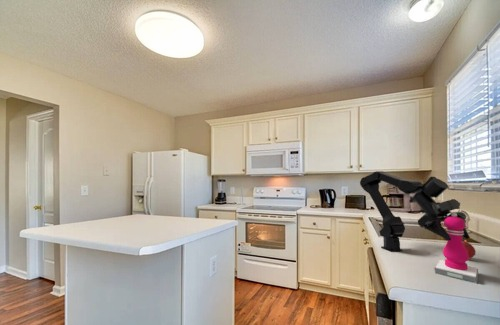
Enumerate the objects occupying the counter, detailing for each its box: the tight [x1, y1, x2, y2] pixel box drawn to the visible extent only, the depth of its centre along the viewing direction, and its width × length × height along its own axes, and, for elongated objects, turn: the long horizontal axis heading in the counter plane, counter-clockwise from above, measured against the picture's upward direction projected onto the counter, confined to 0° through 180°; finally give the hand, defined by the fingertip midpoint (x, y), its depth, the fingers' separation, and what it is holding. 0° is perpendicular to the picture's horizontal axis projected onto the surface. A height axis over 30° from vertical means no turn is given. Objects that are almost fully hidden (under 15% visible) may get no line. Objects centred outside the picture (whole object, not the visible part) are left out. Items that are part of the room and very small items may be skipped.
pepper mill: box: [442, 211, 470, 270], centre depth 86 cm, size 7×7×20 cm
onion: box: [462, 239, 477, 259], centre depth 100 cm, size 6×6×8 cm
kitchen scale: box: [434, 259, 479, 284], centre depth 85 cm, size 11×11×2 cm
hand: (459, 239), depth 84 cm, fingers open, 9 cm apart
